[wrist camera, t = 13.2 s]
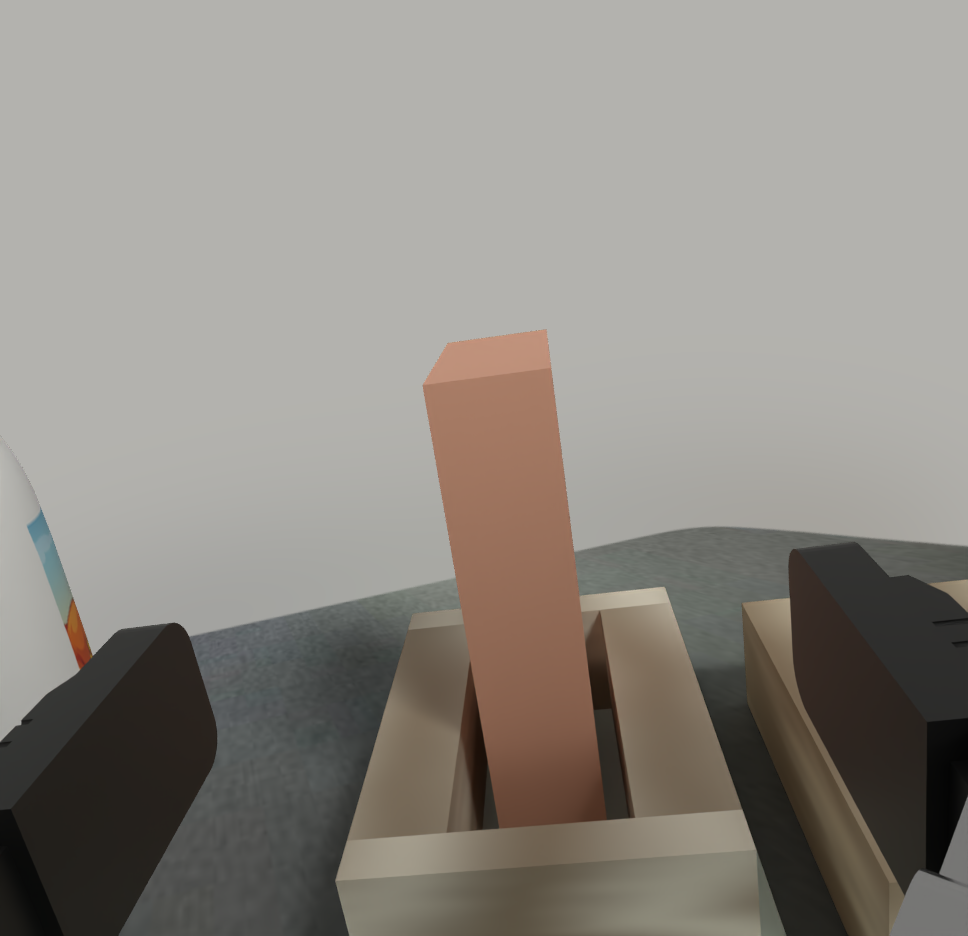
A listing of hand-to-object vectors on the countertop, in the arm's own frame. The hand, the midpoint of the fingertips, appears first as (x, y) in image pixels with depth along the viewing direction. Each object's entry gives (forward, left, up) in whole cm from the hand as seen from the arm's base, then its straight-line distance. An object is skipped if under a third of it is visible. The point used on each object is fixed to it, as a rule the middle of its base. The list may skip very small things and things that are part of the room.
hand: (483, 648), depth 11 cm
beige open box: (0, -11, -13) cm, 17 cm away
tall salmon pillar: (0, -12, -12) cm, 17 cm away
